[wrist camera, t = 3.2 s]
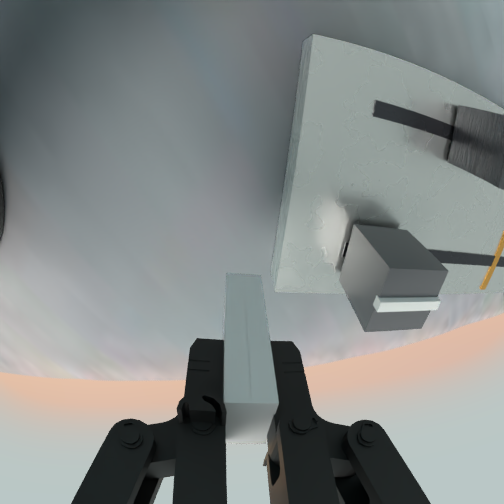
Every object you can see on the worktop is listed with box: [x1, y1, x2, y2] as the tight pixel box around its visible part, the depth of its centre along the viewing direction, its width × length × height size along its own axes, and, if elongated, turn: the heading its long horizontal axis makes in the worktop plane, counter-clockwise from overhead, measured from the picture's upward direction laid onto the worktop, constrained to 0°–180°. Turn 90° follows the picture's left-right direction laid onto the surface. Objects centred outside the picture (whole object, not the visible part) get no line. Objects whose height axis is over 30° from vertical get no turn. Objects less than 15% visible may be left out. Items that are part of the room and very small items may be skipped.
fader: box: [339, 224, 448, 332], centre depth 16 cm, size 4×4×5 cm
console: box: [270, 34, 504, 294], centre depth 17 cm, size 30×16×8 cm, turn 84°
